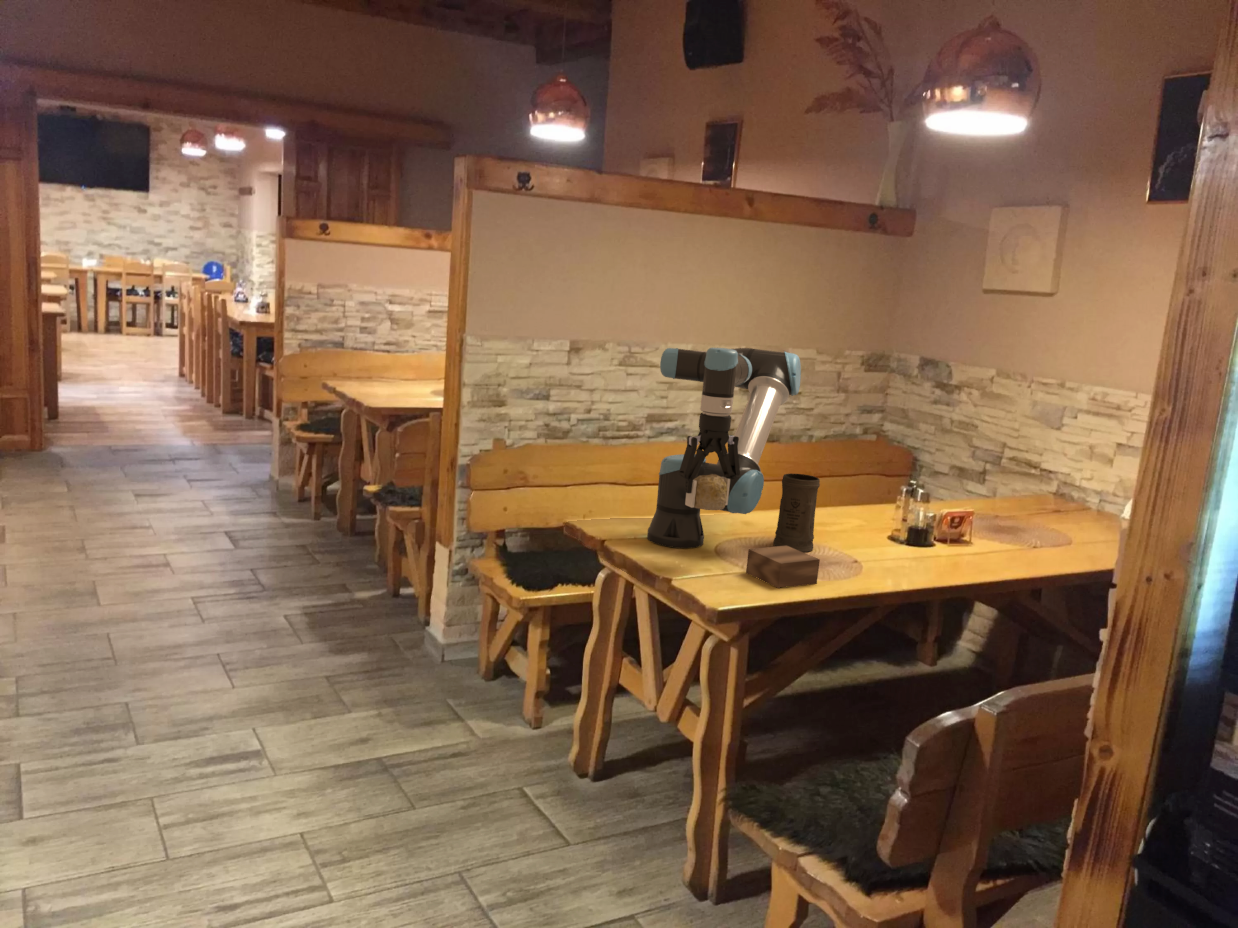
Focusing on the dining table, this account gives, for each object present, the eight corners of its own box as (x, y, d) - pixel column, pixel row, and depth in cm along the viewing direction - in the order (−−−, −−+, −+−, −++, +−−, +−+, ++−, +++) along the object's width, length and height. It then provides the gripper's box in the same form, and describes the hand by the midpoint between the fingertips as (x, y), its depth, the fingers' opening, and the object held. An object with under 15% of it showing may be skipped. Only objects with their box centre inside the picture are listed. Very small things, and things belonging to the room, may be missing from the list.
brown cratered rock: (714, 512, 230) (717, 481, 228) (681, 504, 235) (684, 474, 233) (732, 506, 237) (736, 476, 236) (700, 499, 242) (703, 469, 241)
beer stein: (812, 555, 257) (822, 480, 254) (772, 549, 259) (781, 475, 256) (812, 544, 272) (822, 474, 269) (774, 539, 274) (782, 469, 271)
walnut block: (745, 572, 236) (748, 549, 235) (783, 568, 243) (786, 545, 241) (778, 588, 226) (781, 563, 225) (816, 583, 233) (819, 559, 232)
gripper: (687, 416, 223) (677, 511, 227) (761, 415, 234) (751, 506, 239) (668, 411, 229) (660, 503, 233) (742, 410, 241) (732, 499, 245)
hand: (706, 504), depth 236 cm, fingers closed on brown cratered rock, 9 cm apart
